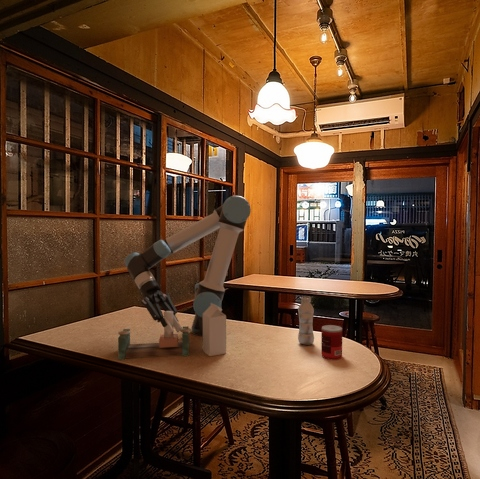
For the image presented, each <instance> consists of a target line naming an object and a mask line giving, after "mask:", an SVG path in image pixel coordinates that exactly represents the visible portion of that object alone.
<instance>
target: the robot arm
mask: <svg viewBox="0 0 480 479" xmlns="http://www.w3.org/2000/svg"><path fill="white" fill-rule="evenodd" d="M250 215H251V205H250V203H249V201H248V200H247V199H246V198H245V197H243V196H241V195H231V196H229V197H228V198H226V199H225V200H224V202H223V204H222V205H220V206H219V207H218V208H215V209H214V210H213V213H210V214H209V215H207V216H205V217H204V218H202V219H200V220H198V221H196V222H194V223H192V224H191V225H189V226H187V227H185V228H183V229H182V230H179V231H178V232H176V233H175V234H172V235H171V236H169V237H166V238H165V239H159V240H158V241H156V242H154V243H153V244H152V245H150V246H149V247H148V248H146V249H144V250H143V252H141V253H139V252H135V251H134V252H132V253H129V254H128V255H127V256H126V257H125V258H124V260H123V262H124V265H125V267H126V270H127V271H128V273H129V274H130V276H131V278H132V279H133V281H134V283H135V284H136V286H137V289H139V292H140V293H141V295H142V297H143V299H142V300H141V301H140V302H141V304H142V305H143V306H144V307H145V309H146V310H147V312H148V313H149V314H150V317H151V318H152V319H153V321H156V322H157V323H160V324H161V325H162V327H163V328H164V327H165V329H166V331H167V332H168V334H169V335H171V333H172V332H173V333H174V332H175V331H176V333H179V332H180V330H181V329H182V328H183V326H182V325H181V324H180V322H179V319H178V317H177V316H176V314H177V313H178V309H177V308H176V306H175V305H174V303H173V301H172V300H171V296H170V294H169V293H168V292H167V293H166V294H165V293H163V292H162V290H161V287H160V285H159V283H158V282H157V280H156V278H155V277H154V275H153V273H152V272H151V270H150V269H151V268H153V267H154V266H155V265H157V264H158V263H160V262H162V261H163V260H165V259H166V258H167V257H170V256H171V255H173V254H175V253H176V252H179V251H180V250H182V249H184V248H186V247H188V246H189V245H192V244H194V242H197V241H199V240H200V239H202V238H204V237H206V236H207V235H209V234H212V233H213V232H215V231H218V234H217V237H216V239H215V244H214V245H213V249H212V253H211V255H210V256H211V257H210V260H209V262H208V265H207V270H206V272H205V276H204V279H203V280H202V281H200V282H199V283H196V284H195V285H194V299H193V302H192V304H193V305H192V307H193V310H194V317H193V318H194V319H193V321H192V324H191V328H190V329H191V331H190V332H191V333H192V334H194V335H197V336H201V337H203V313H204V312H205V311H206V310H207V309H208V308H209V307H210V306H211V303H212V304H214V305H216V306H218V307H220V308H221V309H222V301H223V299H224V295H225V292H226V289H225V287H224V284H225V281H226V276H227V274H228V270H229V266H230V264H231V260H232V257H233V254H234V252H235V249H236V248H235V247H236V244H237V241H238V238H239V235H240V233H242V232H244V230H245V226H246V225H247V224H246V223H247V220H248V219H249V217H250ZM161 308H162V309H163V311H162V309H161ZM165 311H173V328H172V326H171V325H170V323H169V321H168V320H167V318H166V317H164V313H163V312H165Z"/></svg>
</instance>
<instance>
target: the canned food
mask: <svg viewBox="0 0 480 479" xmlns="http://www.w3.org/2000/svg"><path fill="white" fill-rule="evenodd" d="M320 344H321V350H320V351H321V357H322V358H323V359H326V360H330V361H331V360H333V361H334V360H335V361H337V360H340V359H341V358H342V356H343V328H342V327H341V326H340V325H333V324H328V325H327V324H326V325H322V326H321V343H320Z"/></svg>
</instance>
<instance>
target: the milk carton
mask: <svg viewBox="0 0 480 479" xmlns="http://www.w3.org/2000/svg"><path fill="white" fill-rule="evenodd" d="M222 311H223V309H222V307H221V308H220V307H218V306H216V305H214V304H212V303H211V306H210V307H209V308H208V309H207V310H206V311H205V312H204V313H203V336H202V352H203V353H205V354H206V355H207V356H208V357H213V356H219V355H224V354H227V315H226V314H225V313H223V312H222Z"/></svg>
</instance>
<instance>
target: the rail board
mask: <svg viewBox="0 0 480 479" xmlns="http://www.w3.org/2000/svg"><path fill="white" fill-rule="evenodd" d="M179 332H180V333H181V334H182V340H181V341H178V347H164V348H159V342H151V343H150V342H149V343H147V342H146V343H131V328H123V329H122V330H120V331H118V332H117V334H118V335H119V336H118V338H117V339H118V340H117V346H118V347H117V349H118V351H117V354H118V355H117V356H118V357H117V359H118V360H126V359H130V358H131V359H134V358H135V359H136V358H152V357H154V358H155V357H171V356H172V357H173V356H182V357H187V356H189V354H190V351H189V350H190V346H189V344H190V342H189V339H190V338H189V335H190V332H191V328H189V326H182V329H181V330H180V331H179Z"/></svg>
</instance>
